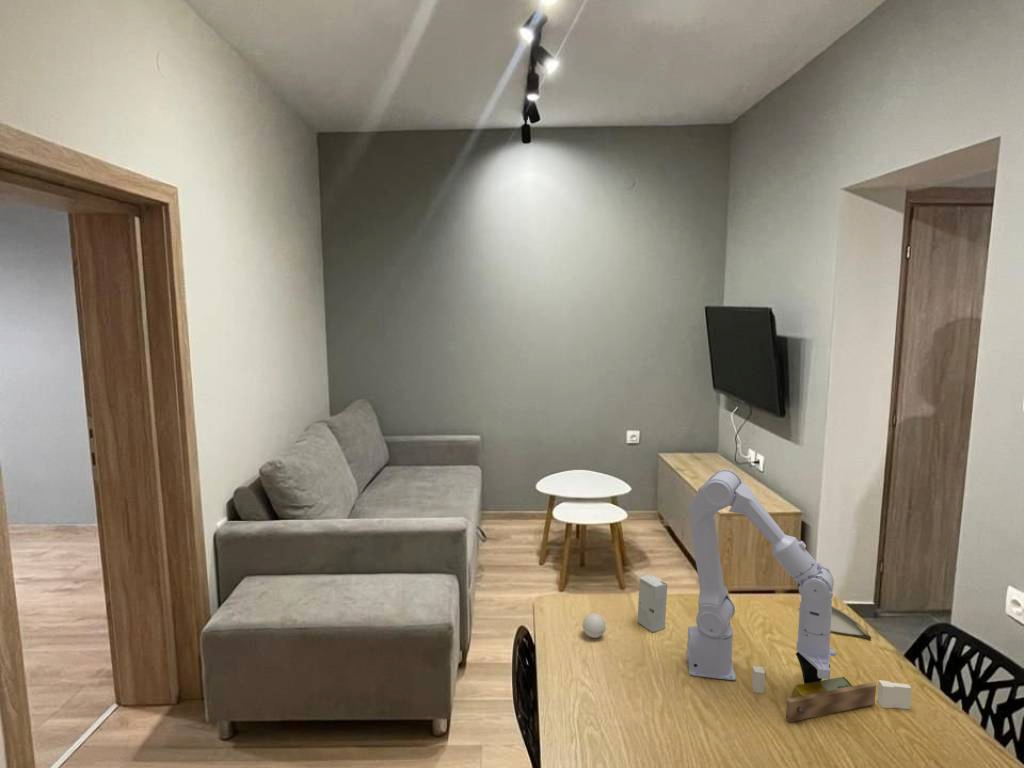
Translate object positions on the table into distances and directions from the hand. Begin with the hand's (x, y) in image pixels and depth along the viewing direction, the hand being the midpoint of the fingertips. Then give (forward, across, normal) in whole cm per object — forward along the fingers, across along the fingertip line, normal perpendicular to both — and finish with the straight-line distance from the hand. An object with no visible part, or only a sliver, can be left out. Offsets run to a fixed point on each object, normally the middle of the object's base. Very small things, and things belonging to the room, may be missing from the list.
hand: (811, 691), depth 118 cm
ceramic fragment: (+2, +32, -14) cm, 35 cm away
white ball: (+2, +15, +46) cm, 48 cm away
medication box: (+1, -1, -1) cm, 2 cm away
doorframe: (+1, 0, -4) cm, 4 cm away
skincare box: (+2, +23, +31) cm, 38 cm away
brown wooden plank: (+1, -5, -3) cm, 5 cm away
